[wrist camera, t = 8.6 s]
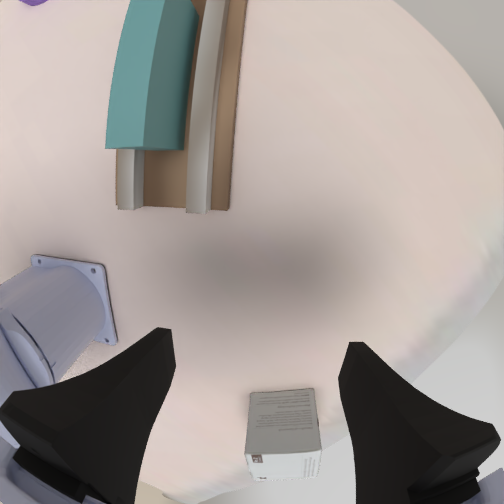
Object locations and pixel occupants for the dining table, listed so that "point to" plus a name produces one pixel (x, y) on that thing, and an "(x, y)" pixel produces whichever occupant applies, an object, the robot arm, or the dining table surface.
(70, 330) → the robot arm
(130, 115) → the door panel
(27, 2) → the masking tape
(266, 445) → the skincare box
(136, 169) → the door track
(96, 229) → the dining table surface
